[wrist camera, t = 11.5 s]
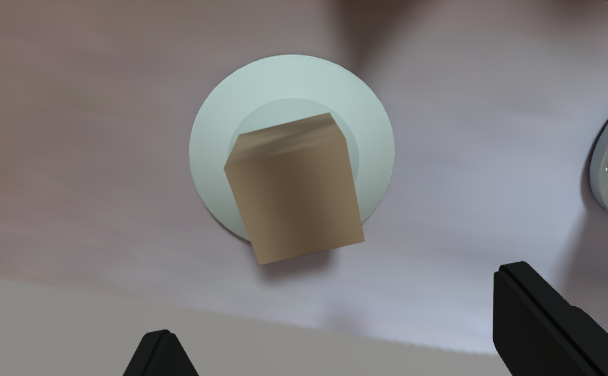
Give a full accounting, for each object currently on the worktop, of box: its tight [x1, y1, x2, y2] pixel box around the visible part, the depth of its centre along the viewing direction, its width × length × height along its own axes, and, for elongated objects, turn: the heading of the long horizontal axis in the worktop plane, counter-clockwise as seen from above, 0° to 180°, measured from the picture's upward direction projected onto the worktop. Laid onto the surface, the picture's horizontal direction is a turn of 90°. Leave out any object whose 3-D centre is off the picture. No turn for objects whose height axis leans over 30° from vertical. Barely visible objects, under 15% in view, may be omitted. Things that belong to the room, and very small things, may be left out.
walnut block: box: [223, 112, 365, 265], centre depth 19 cm, size 6×6×6 cm
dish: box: [189, 54, 395, 241], centre depth 23 cm, size 14×14×1 cm
